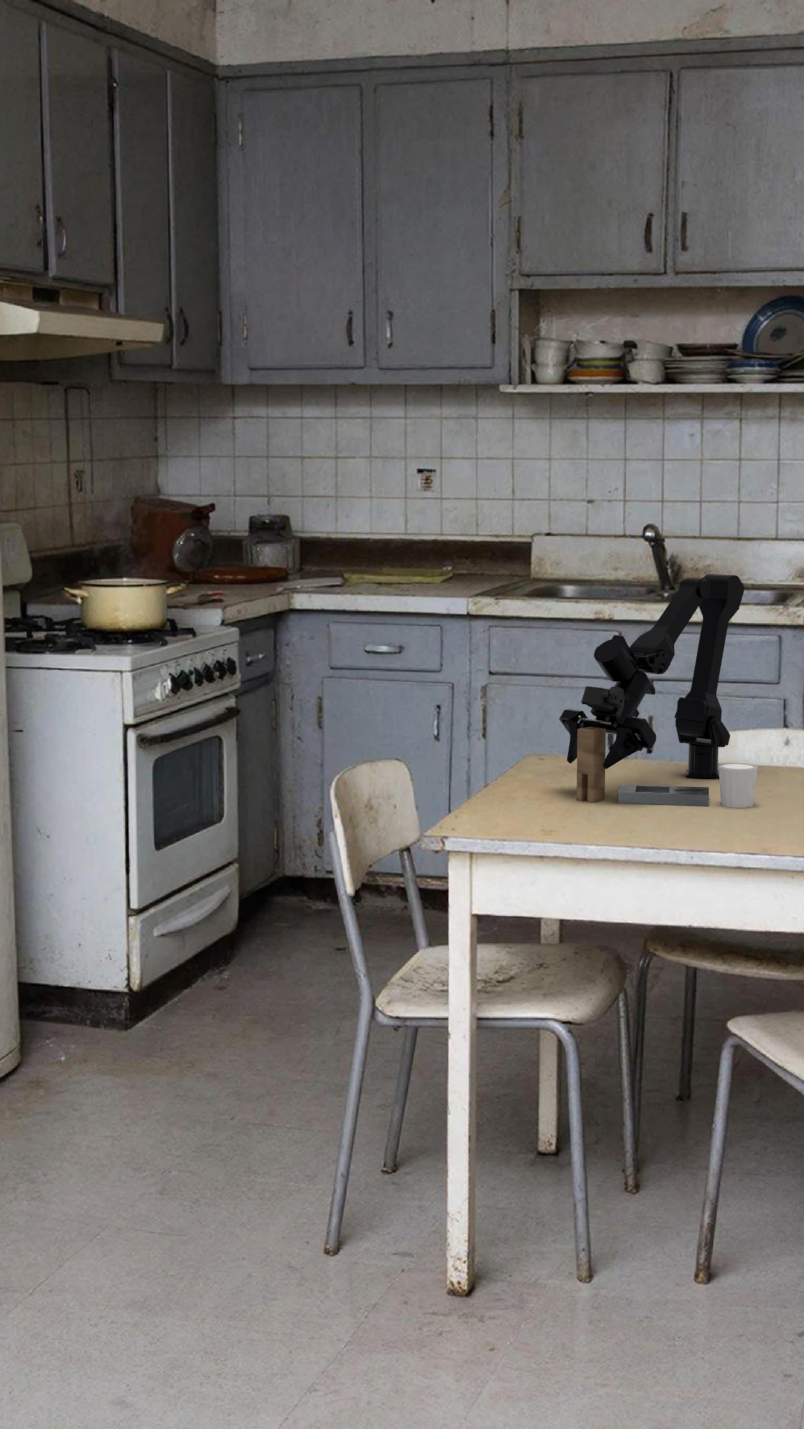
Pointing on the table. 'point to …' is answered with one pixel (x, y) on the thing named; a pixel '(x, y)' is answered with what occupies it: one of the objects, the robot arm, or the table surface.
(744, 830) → the table surface
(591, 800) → the brown block
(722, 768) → the white cup
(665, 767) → the table surface
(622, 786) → the metal plate with hole
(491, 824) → the table surface
